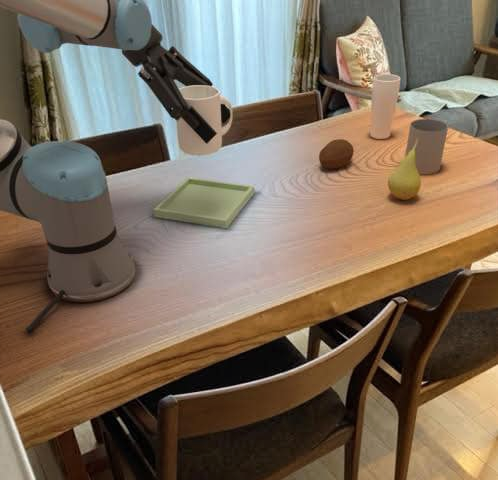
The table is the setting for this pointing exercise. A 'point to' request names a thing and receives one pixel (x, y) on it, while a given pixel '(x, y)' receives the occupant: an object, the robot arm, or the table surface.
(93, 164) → the robot arm
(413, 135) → the cup
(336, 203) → the table surface
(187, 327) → the table surface
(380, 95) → the drinking glass
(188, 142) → the mug
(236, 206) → the tray
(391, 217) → the table surface
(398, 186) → the fruit
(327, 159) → the potato
